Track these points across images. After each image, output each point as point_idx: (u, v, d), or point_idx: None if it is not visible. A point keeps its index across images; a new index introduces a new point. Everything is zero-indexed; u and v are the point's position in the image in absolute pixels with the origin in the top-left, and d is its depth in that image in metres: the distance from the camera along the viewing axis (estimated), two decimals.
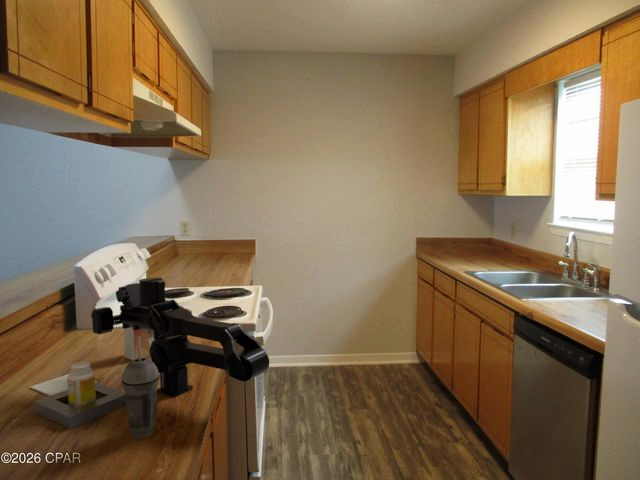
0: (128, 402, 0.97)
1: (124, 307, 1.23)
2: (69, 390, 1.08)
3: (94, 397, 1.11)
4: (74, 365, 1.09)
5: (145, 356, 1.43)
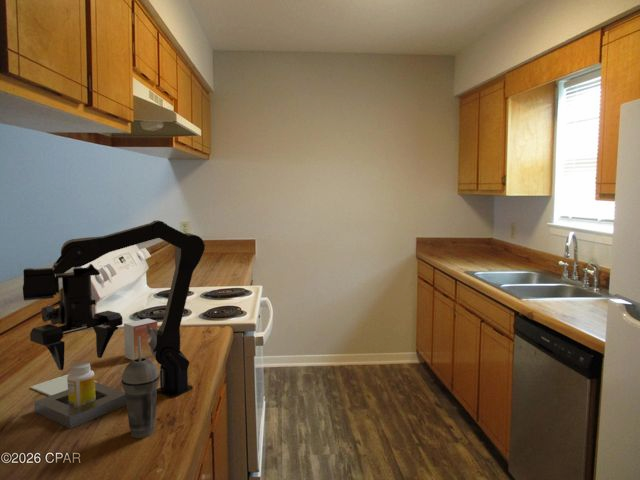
0: (128, 402, 0.97)
1: (58, 316, 1.08)
2: (69, 390, 1.08)
3: (94, 397, 1.11)
4: (74, 365, 1.09)
5: (145, 356, 1.43)
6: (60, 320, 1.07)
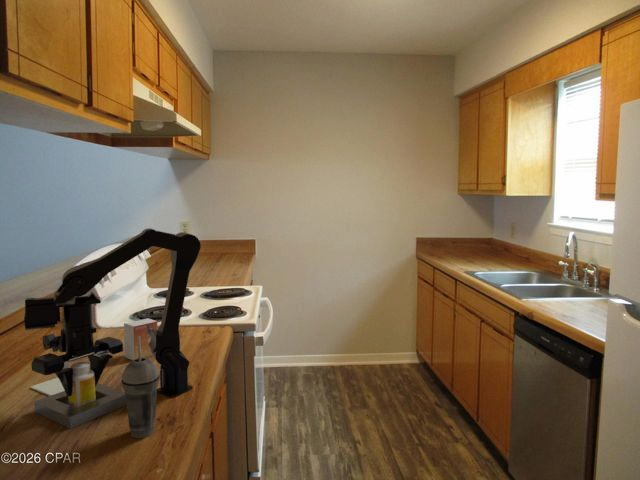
0: (128, 402, 0.97)
1: (59, 344, 1.08)
2: None
3: (94, 397, 1.11)
4: (74, 365, 1.09)
5: (145, 356, 1.43)
6: (61, 348, 1.08)
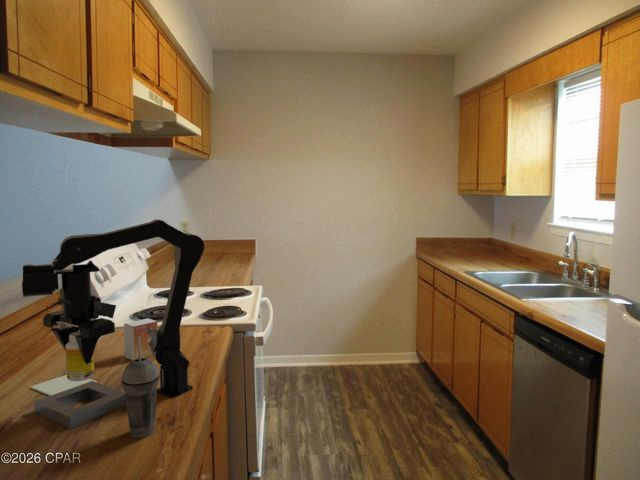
0: (128, 402, 0.97)
1: None
2: None
3: (75, 371, 1.07)
4: (78, 332, 1.10)
5: (145, 356, 1.43)
6: None
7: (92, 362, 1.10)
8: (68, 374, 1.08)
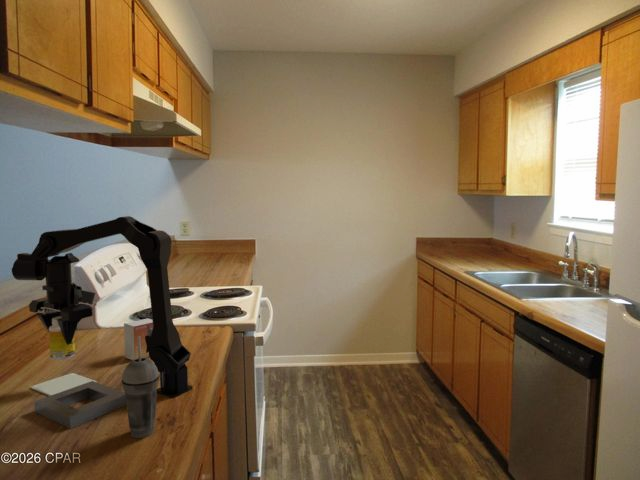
0: (128, 402, 0.97)
1: None
2: None
3: (57, 351, 1.20)
4: (60, 316, 1.23)
5: (145, 356, 1.43)
6: None
7: (73, 343, 1.22)
8: (51, 354, 1.20)
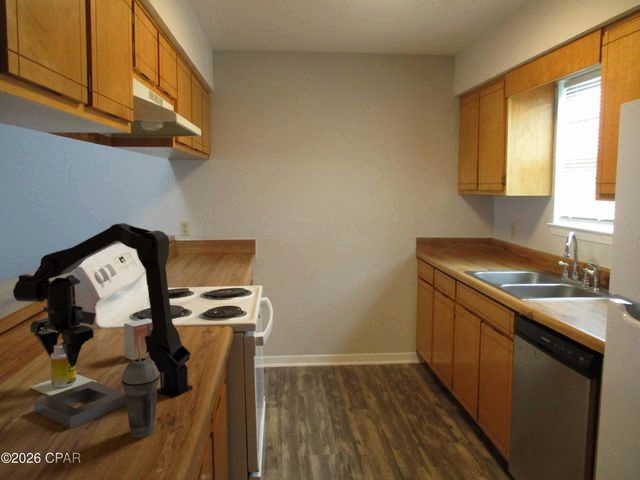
0: (128, 402, 0.97)
1: None
2: None
3: (58, 378, 1.20)
4: None
5: (145, 356, 1.43)
6: None
7: (74, 370, 1.23)
8: (52, 381, 1.21)
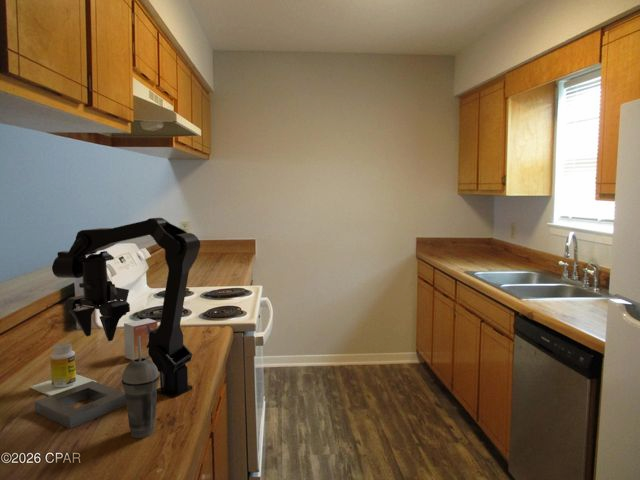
0: (128, 402, 0.97)
1: None
2: None
3: (58, 378, 1.20)
4: (62, 343, 1.23)
5: (145, 356, 1.43)
6: None
7: (74, 370, 1.23)
8: (52, 381, 1.21)
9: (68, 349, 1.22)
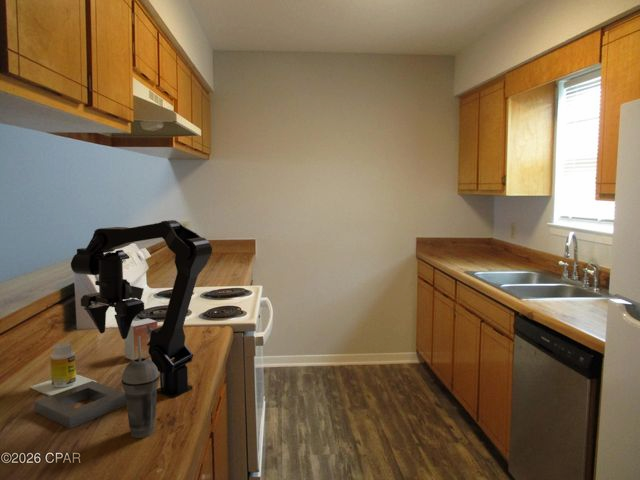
0: (128, 402, 0.97)
1: None
2: None
3: (58, 379, 1.20)
4: (62, 343, 1.23)
5: (145, 356, 1.43)
6: None
7: (74, 370, 1.23)
8: (52, 381, 1.21)
9: (68, 349, 1.22)
